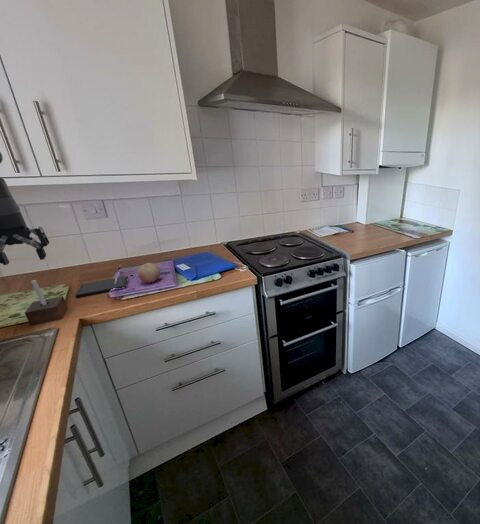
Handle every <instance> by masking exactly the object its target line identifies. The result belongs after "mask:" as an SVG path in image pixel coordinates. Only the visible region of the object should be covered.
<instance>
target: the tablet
mask: <svg viewBox="0 0 480 524" xmlns="http://www.w3.org/2000/svg"><path fill="white" fill-rule="evenodd" d="M115 278H117V282H116V284H115V283H114V282H115ZM115 278H108V279H104V280H98V281H92V282H86V283H82V284H80V285H79V286H80V287H79V289H78V290H77V292H76V294H75V298H76V299H79V298H84V297H91V296H95V295H96V296H97V295H100V294H105V293H110V292H109V291H110V290H111V289H113V288H122V287H126V283H127V279H128V278H129V276H128V275H125V276H120V277H115ZM128 280H129V279H128ZM127 284H128V283H127ZM126 288H127V287H126Z"/></svg>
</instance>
